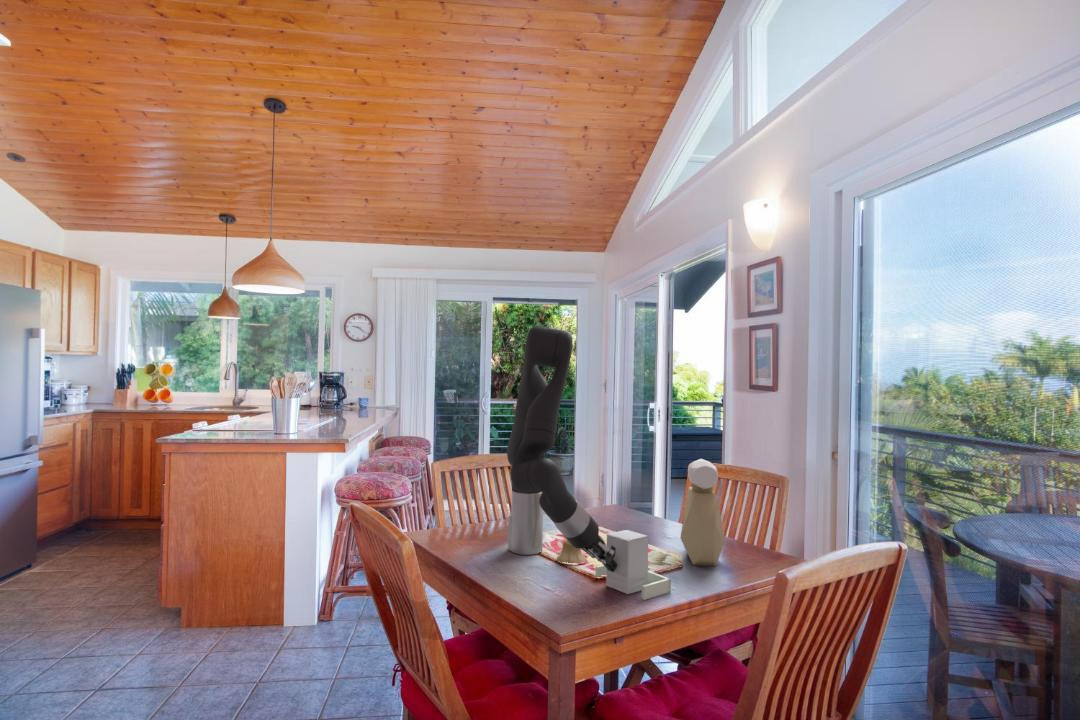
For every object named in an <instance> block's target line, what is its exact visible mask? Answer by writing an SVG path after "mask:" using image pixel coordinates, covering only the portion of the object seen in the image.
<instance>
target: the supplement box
mask: <svg viewBox="0 0 1080 720" xmlns="http://www.w3.org/2000/svg"><path fill="white" fill-rule="evenodd" d="M606 546H607V547H609V546H610V547H611V546H614V547H615V548H616V553H615V557H614V558H613V560H614V561H615V562H616V563H617V567H616V569H615V571H614V572H611V571H609V570H607V577H606V581H605V583H606V586H607V587H608V588H612V589H614V590H617V591H619V592H622V593H624V594H626V595H631V594H633V593H638V592H640V591H641V592H642V586H643V585H646V584H648V571H649V569H648V568H649V535H647V534H643V533H639V532H636V531H632V530H628V529H623V530H620V531H615V532H611V533H610V532H609V533H607V534H606Z"/></svg>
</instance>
